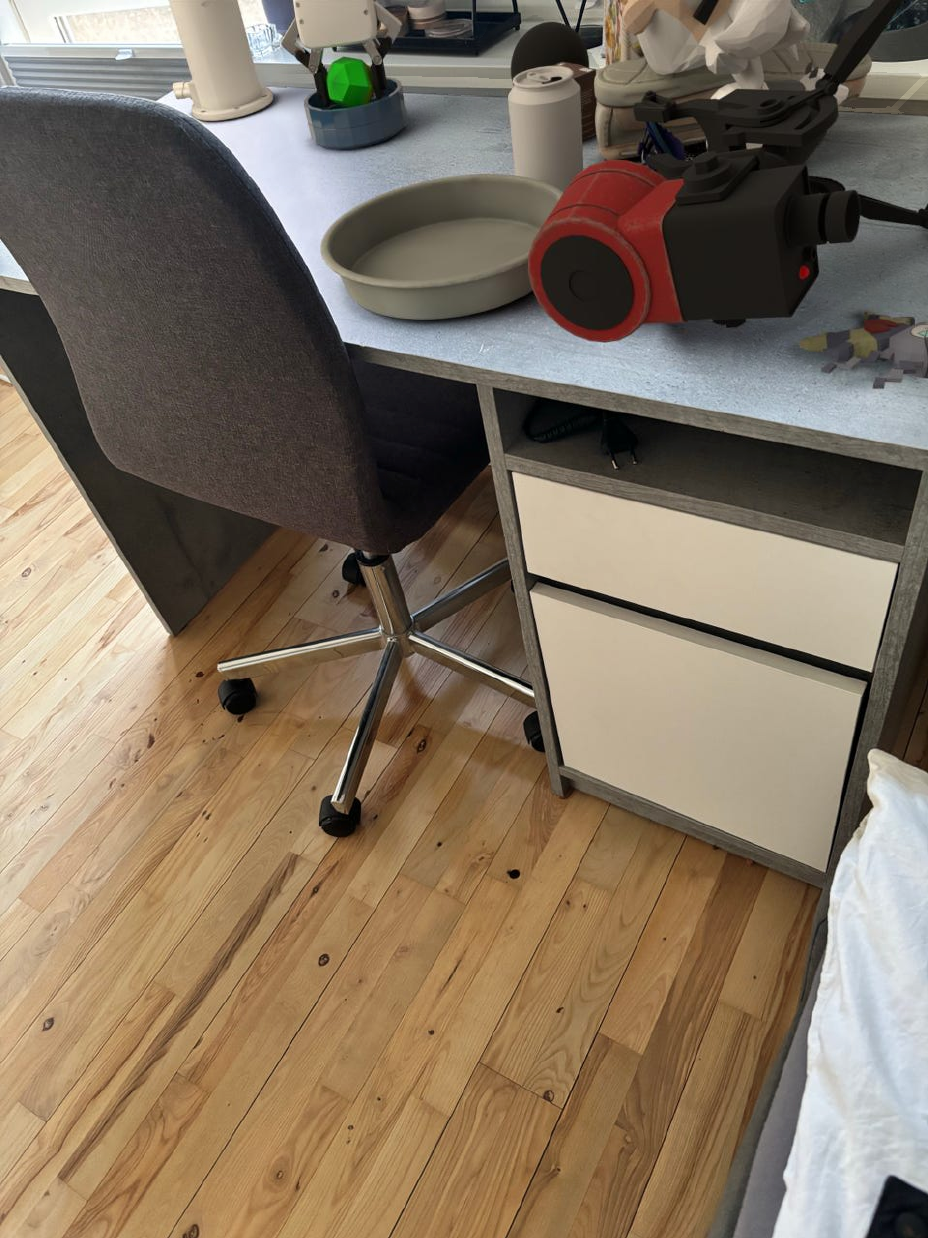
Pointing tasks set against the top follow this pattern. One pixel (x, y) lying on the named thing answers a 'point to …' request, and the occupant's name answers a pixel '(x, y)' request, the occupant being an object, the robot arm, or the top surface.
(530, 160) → the can
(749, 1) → the toy
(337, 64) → the apple
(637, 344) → the top surface
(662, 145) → the spaceship
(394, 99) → the bowl
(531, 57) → the decorative ball
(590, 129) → the box
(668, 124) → the loafer
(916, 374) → the toy
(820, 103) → the camera
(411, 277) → the cake pan
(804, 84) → the giant panda
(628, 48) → the decorative jar
